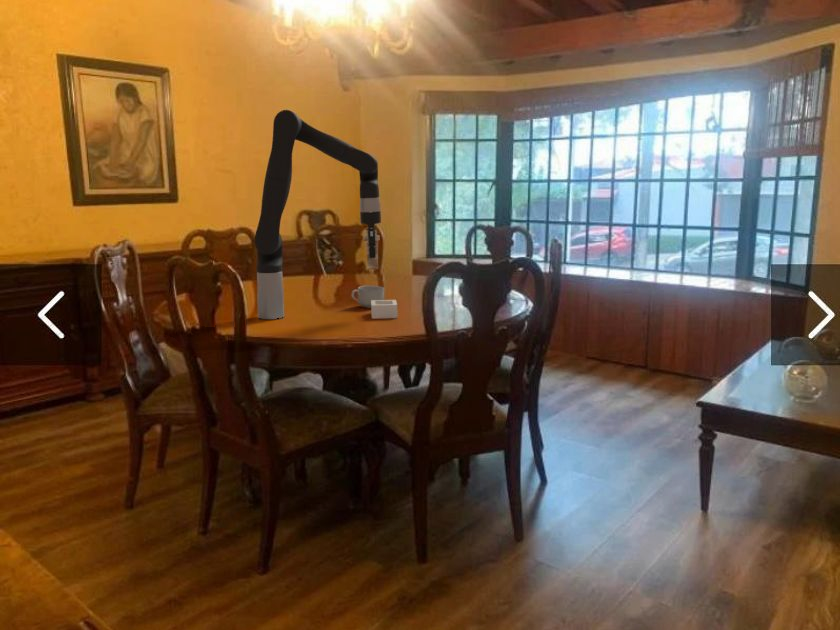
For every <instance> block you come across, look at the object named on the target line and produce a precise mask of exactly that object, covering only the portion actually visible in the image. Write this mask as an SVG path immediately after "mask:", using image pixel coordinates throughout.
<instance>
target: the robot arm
mask: <svg viewBox="0 0 840 630" xmlns="http://www.w3.org/2000/svg"><path fill="white" fill-rule="evenodd" d="M272 128H273V129H272V143H271V149H270V154H269V159H268V162H267V166H266V171H265V177H264V181H263V188H262V198H261V209H260V216H259V221H258V224H257V228H256V231H255V235H254V237H253V243H254V244H253V245H254V247H255V248H256V250H257V262H256V279H257V281H256V283H257V292H256V293H257V294H256V296H257V297H256V301H257V304H256V305H257V319H258V318H261V319H260V320H278V319H277V318H279V319H283V318H284V317H285V301H284V300H285V299H284V280H283V279H284V278H283V277H284V276H283V261H284V259H283V254H284V253H283V238H282V235H281V233H280V231H281V230H280V228H281V222H282V221H281V219H282V216H283V213H284V210H285V207H286V205H287V201H288V198H289V194H290V190H291V185H292V177H293V151H294V146H295V142H296V141H299V142H301V143H304V144H306V145H308V146H311V147H313V148H315V149H317V150H318V151H320V152H321V153H323V154H325V155H326V156H328V157H330V158H332V159H334V160H336V161H338V162H340V163H342V164H344V165H347V166H350V167H351V168H354V170H357V171H358V172H359V182H360V183H359V216H360V224H361V225H362V224H363V225H367V228H365V234H366V236H367V241H368V242H369V244H368V247H369V257H370V258H375V257H376V256H375V247H376V244H375V241H376V236H377V233H378V231H377V230H378V229H377V228H376V227H375V225H376V224H378V225H379V224H381V223H382V221H381V220H382V215H381V213H382V212H381V201H380V187H379V183H378V182H379V162H378V159H377V158H376V157H375V156H374V155H372V154H370V153H368V152H366V151H363V150H361V149H359V148H356V147H355V146H353V145H352V144H349V143H348V142H346V141H344V140H342V139H339V138H338V137H335V136H333V135H330V134H329V133H326V132H323V131H321V130H319V129H317V128H315V127H313V126H312V125H310V124H308V123H307V122H305V121H304V120H303V119H302V118H300V116H299V115H297V113H295V112H294V111H292V110H288V109H283V110H281V111H279V112H277V114H276V115H275V116H274V119H273V127H272ZM370 241H374V243H370ZM282 317H283V318H282Z"/></svg>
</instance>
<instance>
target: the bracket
mask: <svg viewBox="0 0 840 630" xmlns="http://www.w3.org/2000/svg"><path fill="white" fill-rule="evenodd" d="M362 236H363V239H362V240H363V241H364V242H366V245H365V246H366V265H367V270H378V269H379V250H378V248H379V247H378V241H380V240H381V238H380V234H379V235H378V234H376V241H375V244H376V247H375V256H376V257H375V258H370V257H369V247H368V244H369V242H368V241H367V235H362ZM370 243H374V241H370Z"/></svg>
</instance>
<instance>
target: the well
mask: <svg viewBox="0 0 840 630" xmlns="http://www.w3.org/2000/svg"><path fill="white" fill-rule="evenodd" d="M370 310H371V311H370V313H371V319H373V320H374V319H399V318H398V317H399V316H398V303H397V300H396V299H384V300H371V308H370Z"/></svg>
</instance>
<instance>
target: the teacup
mask: <svg viewBox="0 0 840 630" xmlns="http://www.w3.org/2000/svg"><path fill="white" fill-rule="evenodd" d="M355 293H357V298H356V297H355ZM350 296H351V298H352V299H353V300H354V301H356V302H357V303H358V304H359V305H360V306H362V307H363V308H366V309H371V300H385V299H384V297H385V287H383V286H379V285H361V286H358V287H357V289H353V290H352V291H351V295H350Z"/></svg>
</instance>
